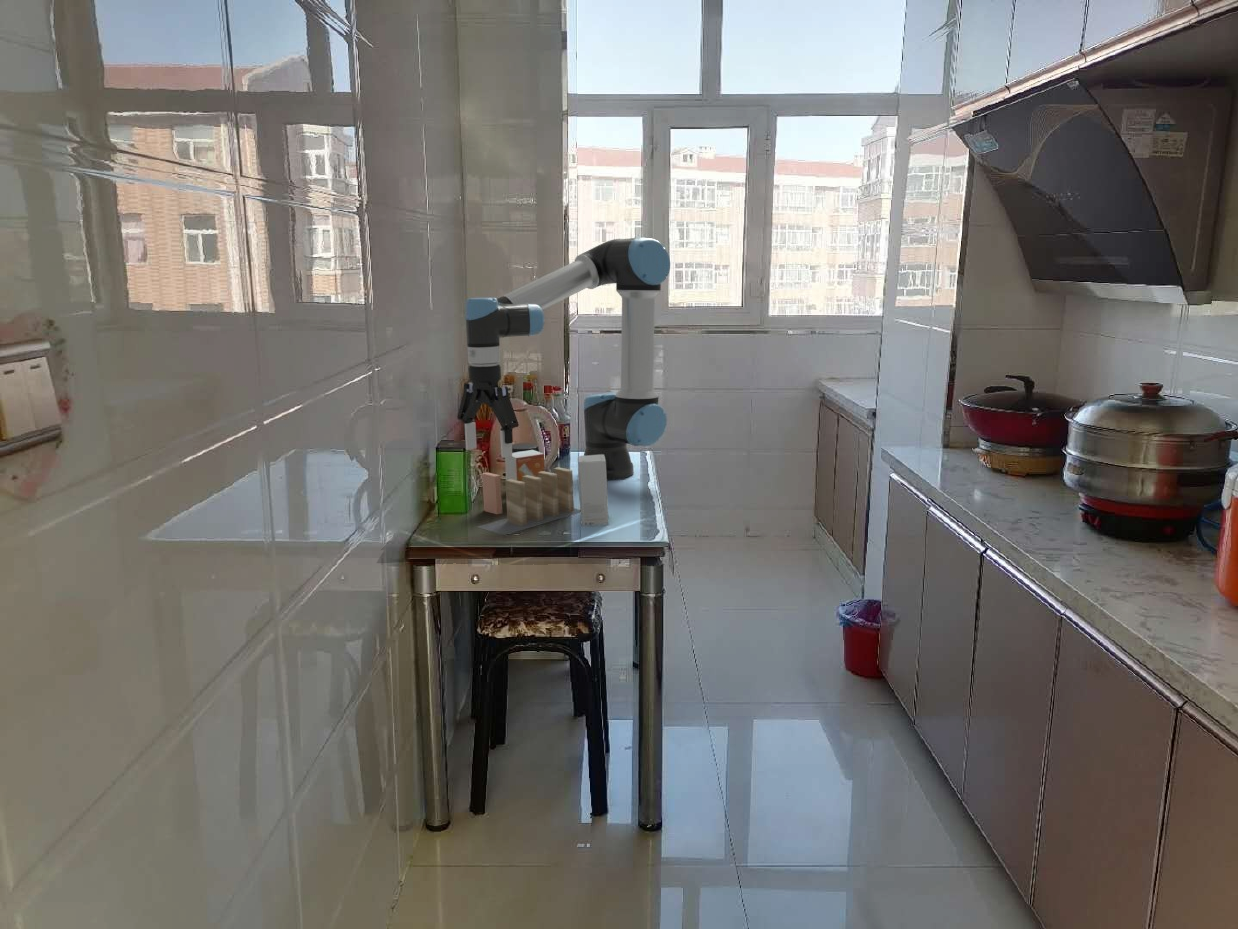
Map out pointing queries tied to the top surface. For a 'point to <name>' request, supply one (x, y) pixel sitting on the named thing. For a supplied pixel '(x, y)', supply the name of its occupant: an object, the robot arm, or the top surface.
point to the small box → (524, 464)
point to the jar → (524, 447)
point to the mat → (507, 527)
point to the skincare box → (593, 490)
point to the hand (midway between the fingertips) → (488, 453)
